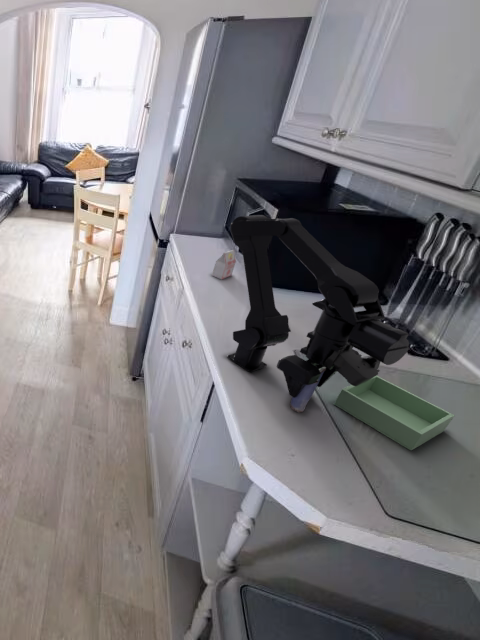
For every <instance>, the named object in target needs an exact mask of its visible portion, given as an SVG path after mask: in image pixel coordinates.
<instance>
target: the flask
mask: <svg viewBox="0 0 480 640" xmlns="http://www.w3.org/2000/svg"><path fill="white" fill-rule="evenodd" d="M325 370H326V367H325V368H322V369H319V371H320V373H321V375H320V377H319V378H318V380H317V381H318V382H316V383H313V384H311V385H305V387H304V388H303V389H302V390H301V392H300V393H299V394H298V395H297V396H296V397H295V398H293V397H292V396H291V400H290V403H289V407H290V409H291V410H292V411H294V412H297V413H299V414H300V413H303V412H304V411H305V408H306V407H307V404H308V403H309V401H310V400H311V398H312V397H313V394H314V392H315V391H316V388H317V387H318V386H317V385H318V383H319V381H320V379H321V377H322V375H323V373H324V371H325Z"/></svg>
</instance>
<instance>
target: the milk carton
mask: <svg viewBox="0 0 480 640" xmlns="http://www.w3.org/2000/svg"><path fill="white" fill-rule="evenodd" d="M236 263H237V259H236V249H231V250H228V251H225V252H223V253H222V255H221V256H220V257H218V259H217V260H215V263H214V267H213V269H212V272H211V276H213V277H215V278H217V279H219V280H224V279H227V278H229V277H232V275H233V272H234V269H235V266H236Z"/></svg>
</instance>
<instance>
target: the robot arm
mask: <svg viewBox="0 0 480 640" xmlns="http://www.w3.org/2000/svg"><path fill="white" fill-rule="evenodd" d="M229 227H230V228H229V229H230V233H231V237H232V240H233V243H234V244H235V245H236V246H237V248H238V249H239V250H240V251H241V253H242V259H243V267H244V271H245V273H244V274H245V279H246V287H247V293H248V299H249V301H248V302H249V311H248V313H247V315H246V318H245V319H244V320H245V322H244V325H245V326H244V328H243V329H240V330H235V331H233V332H232V340H233V341H234V342H236V343H237V346H236V350H235V352H234V353H230V354H228V355H227V356H226V357H227V359H228V360H230V361H232V362H233V363H234V364H236V365H238V366H239V367H241V368H242V369H244V370H246V371H247V372H249V373H253V372H256V371H259V370H261V369H264V368H266V367H267V366H268V364H267V363H265V362H264V361H263V359H264V356H265V354H266V351H267V349H268V347H275V346H276V345H278V344H282V343H284V342H285V341H287V340H288V339H289V333H291V332H292V330H291V328H290V325H289V317H288V315H287V314H281V313H280V312H279V311H278V309H277V308H276V302H275V295H274V289H273V282H272V276H271V268H270V261H269V256H268V248H269V246H270V243H271V242H272V239H273V237H277V238H278V239H279V240H280V241H281V242H282V243H283V245H285V247H286V248H288V249H289V250H290V252H291V253H292V254H293V255H294V256H295V257H296V258H297V259H298V260H299V261H300V262H301V264H303V265H304V266H305V267H306V269H307V270H308V271H309V272H310V273H311V274H312V275H313V276H314V277H315V280H316V283H317V287H318V290H319V292H320V293H321V295H322V296H323V299H321V300H317V301H312V303H311V305H312V306H313V307H316V308H318V309H320V310H322V311H321V314H320V316H319V318H318V320H317V323H316V324H315V327H314V329H313V330H312V331H309V332H307V334H306V338H309V340H308V342H307V345H306V346H304V347H301V348H300V350H299V353H301V354H302V355H304V356H305V358H306V360H305V359H303V358H302V357H300V356H298V355H296V354H292V355H287V356H284V357H282V358H279V359H278V360H277V361H278V362H277V363H276V368H277V369H278V370H279V371H281V372H282V373H283V376H284V380H285V382H286V387H287V390H288V391H287V392H288V395H289V396H290V397H291V398H292V397H293V398H295V397H296V396H297V395H298V394H299V393H300V392H301V390H302V389H303V388H304V387H305V385H311V384H313V383H316V382H318V381H317V380H318V378H319V377H320V375H321V373H320V371H319V369H322V368H325V367H326V370H325V371H324V373H323V375H322V377H321V379H320V381H319V383H318V385H317V387H318V388H321V387H322V386H323V385H324V384H326V383H327V382H328V381H329V380H330V379H331V378H332V377H333V376H334V375H335V374H336V373H338V374H340V376H341V377H343V378H344V379H345V380H346V382H347V383H348V384H349V385H353V386H358V385H360V384H363V383H365V382H367V381H368V380H370V379H372V378H373V377H375V376H376V375H377V376H379V373H380V371H381V370H380V365H381V363H382V364H384V365H386V366H391V365H393V364H396V363H398V362H399V361H400V360H401V359H402V358H403V357H404V356H405V355H406V354H407V353H408V351H409V349H410V347H409V345H410V343H409V341H410V340H408V339H407V338H408V337H409V335H410V334H409V333H408V332H407V331H405V330H402V329H399V328H396V327H393V326H392V325H389V324H387V323H385V322H382V321H380V320H385V319H386V316H385V314H384V311H383V307H382V305H381V303H380V299H379V293H380V289H379V288H378V286H377V284H375V282H373V281H372V280H370V279H369V278H368V277H366V276H365V275H363V274H362V273H360V272H359V271H357V270H355V269H353V268H350V267H348V266H346V265H344V264H342V263H341V262H340V261H338V259H336V258H335V256H334V255H332V253H331V252H329V251H328V250H327V249H326V248H325V246H323V245H322V244H321V243H320V242H319V241H318V240H317V239H316V238H315V237H314V236H313V235H312V234H311V233H310V232H309V231H308V230H307V228H305V227H304V226H303V225H302V222H301V221H300V220H299V219H296V218H293V217H290V218H269V217H268V216H266V215H264V214H254V215H241V216H237V217H236V218H234V219H233V221H232V222H231V223H230V226H229ZM357 308H363V309H364V310H358V311H355V309H357ZM353 348H355V349H356V350H355V349H353ZM359 351H360V352H362V353H364V354H366V356H363V355H362V354H360V352H359Z"/></svg>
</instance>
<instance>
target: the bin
mask: <svg viewBox="0 0 480 640" xmlns="http://www.w3.org/2000/svg"><path fill="white" fill-rule="evenodd" d="M333 406H336V407H338V408H339V409H341V410H342V411H344V412H346V413H347V414H349V415H351V416H352V417H354V418H356V419H357V420H359V421H361V422H362V423H364V424H365V425H367V426H368V427H371V428H372V429H374V430H375V431H377V432H379V433H380V434H382V435H384V436H386V437H387V438H388V439H391V440H392V441H394V442H395V443H397V444H399V445H400V446H402V447H404V448H406V449H407V450H409V451H413V450H414V449H416V448H418V447H420V446H422V445H424V444H425V443H426V442H428V441H430V440H431V439H433V438H435V437H437V436H438V435H440V434H442V433H443V432H445V431H446V429H447V428H448V426H449V425H450V423H451V422H452V421H453V419H454V417H455V416H456V415H455V414H453V413H451V412H449V411H447V410H446V409H443V408H442V407H440V406H437V405H435V404H433V403H431V402H429V401H428V400H426V399H424V398H422V397H420V396H418V395H416V394H414V393H412V392H410V391H409V390H406V389H404V388H402V387H401V386H398V385H396V384H395V383H392V382H391V381H389V380H387V379H384V378H382V377H381V376H379V375H376V376H375V377H373V378H372V379H370V380H368V381H367V382H365V383H363V384H360V385H358V386H353V385H351V384H349V385H348V386H345V387H344V388H341V390H340V392H339V394H338V396H337V398H336V400H335V401H334V403H333Z"/></svg>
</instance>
